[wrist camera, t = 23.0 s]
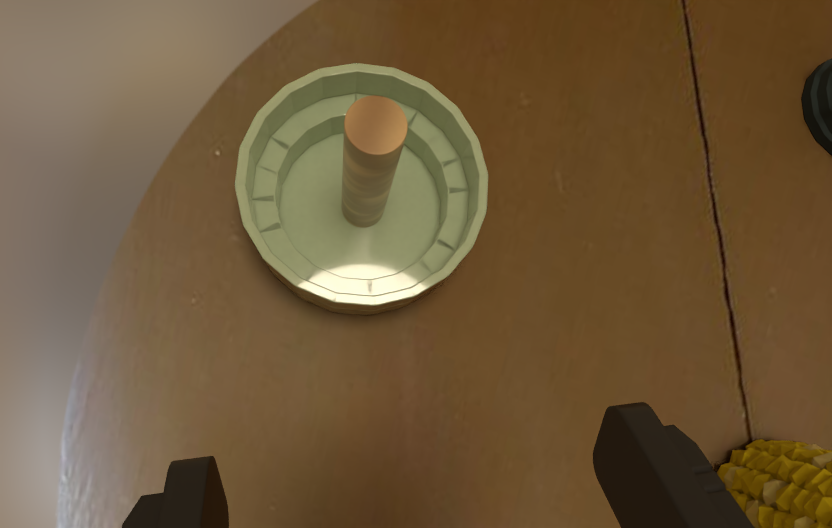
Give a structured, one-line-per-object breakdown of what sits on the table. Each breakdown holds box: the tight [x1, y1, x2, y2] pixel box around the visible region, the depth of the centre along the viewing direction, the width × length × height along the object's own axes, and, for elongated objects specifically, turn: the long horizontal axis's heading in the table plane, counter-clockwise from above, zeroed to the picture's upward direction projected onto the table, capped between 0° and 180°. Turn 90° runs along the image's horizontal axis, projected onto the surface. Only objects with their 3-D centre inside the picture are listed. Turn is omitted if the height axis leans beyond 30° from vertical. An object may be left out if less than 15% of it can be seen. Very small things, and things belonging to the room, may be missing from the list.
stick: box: [341, 95, 408, 228], centre depth 34 cm, size 3×3×14 cm
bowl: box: [235, 63, 488, 315], centre depth 38 cm, size 15×15×6 cm
